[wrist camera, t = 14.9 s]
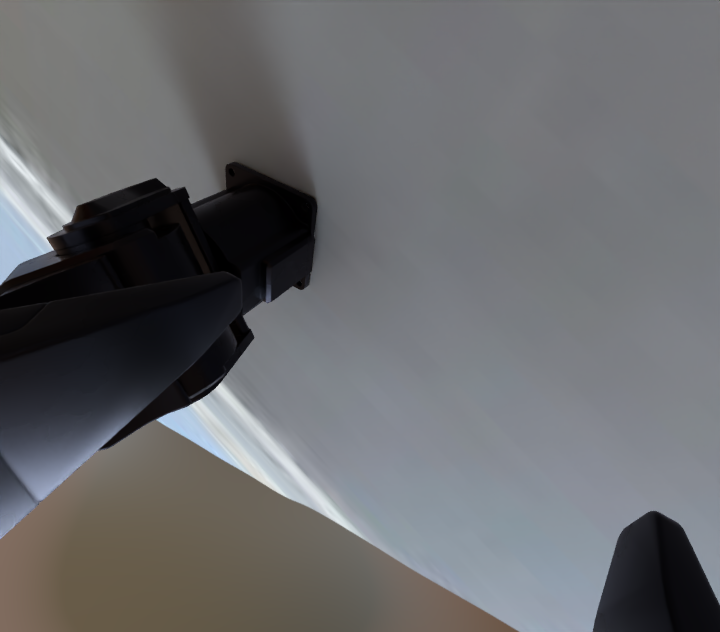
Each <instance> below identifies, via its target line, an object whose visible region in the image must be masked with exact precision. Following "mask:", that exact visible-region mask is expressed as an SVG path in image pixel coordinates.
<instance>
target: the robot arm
mask: <svg viewBox="0 0 720 632" xmlns="http://www.w3.org/2000/svg"><path fill="white" fill-rule="evenodd" d="M188 198H190V197H189V195H188V192H187V190H186V188H185V187H182V188H178V189H174V190H171V189H170V187H166V186H165V185H164V184H163V183H162V182H160V181H159V180H158V179H157V178H154V179H151V180H148V181H145V182H142V183H139V184H136V185H133V186H130V187H127V188H124V189H121V190H119V191H116V192H113V193H110V194H108V195H105V196H102V197H100V198H97V199H94V200H92V201H89V202H86V203H84V204H81V205H78V206H77V207H76V210H75V213H74V216H73V218H72V221H71V222H69V223H67V224H65V225H63V226H62V227H63V230H61V231H59V232H57V233H54V234H52V235H50V236H49V237H47V239H48V241H49V243H50V244H51V246H52V247H53V249H54V251H51V252H49V253H46V254H43V255H41V256H38V257H36V258H33V259H30V260H28V261H25V262H23V263H21V264H19V265H18V266H17V267H16V268H15V269H14V270H13V272H12V273H11V274H10V275H9V276H8V277H7V278H6V280H5V281H4V282H3V283H2V284H1V285H0V539H1V538H2V537H3V536H4V535H5V534H7V533H8V532H9V531H10V530H11V529H12V528H13V527H14V526H15V525H16V524H18V523H19V522H20V521H21V520H22V519H23V518H24V517H25V516H26V515H28V514H29V513H30V512H31V511H32V510H33V509H34V508H35V507H36V506H37V505H39V502H41V501H43V500H44V499H45V498H46V497H47V496H48V495H49V494H50V493H51V492H53V490H54V489H56V488H57V487H58V486H59V485H60V484H61V483H63V482H64V481H65V480H66V479H67V478H68V477H69V476H70V475H71V474H72V473H74V472H75V471H76V470H77V469H78V468H79V467H80V466H81V465H82V464H83V463H85V462H86V461H87V460H88V459H89V458H90V457H91V456H92V455H93V454H95V453H96V452H97V451H99V450H104V449H108V448H110V447H112V446H113V445H115V444H116V443H118V442H120V441H121V440H123V439H124V438H126V437H127V436H128V435H130V434H132V433H133V432H135V431H136V430H138V429H140V428H141V427H143V426H144V425H146V424H148V423H150V422H152V421H154V420H156V419H158V418H160V417H162V416H164V415H166V414H168V413H171V412H174V411H176V410H179V409H182V408H185V407H187V406H189V405H190V404H192V403H194V402H196V401H198V400H200V399H202V398H203V397H205V396H206V395H208V394H209V393H210V392H211V391H213V390H214V389H215V388H216V387H217V386H218V385H219V384H220V383H221V381H222V380H223V379H224V377H225V376H226V375H227V373H228V372H229V371H230V369H231V368H232V367H233V365H234V364H235V363H236V361H237V360H238V359H239V358H240V356H241V355H242V354H243V352H244V351H245V350H246V348H247V347H248V346H249V344H250V343H251V342H252V340H253V339H254V335H253V333H252V331H251V329H249V328H248V326H247V324H246V322H245V320H244V317H243V315H245V314H246V313H247V312H249V311H250V310H251V309H253V308H254V307H256V306H257V305H258V304H260V303H261V302H262V301H264V302H266V303H269V302H272V301H273V300H275V299H276V298H277V297H279V296H280V295H281V294H282V293H284V292H285V291H286V290H288V289H289V288H290V287H292V286H294V287H296V288H298V289H300V290H303V289H304V288H306V287H307V286H308V285H309V278H310V272H311V271H312V262H313V253H314V244H315V238H314V232H315V223H316V213H317V204H316V201H315V200H314V199H313V198H312V197H311V196H308V195H306V194H304V193H302V192H300V191H298V190H295V189H293V188H291V187H289V186H287V185H284V184H282V183H280V182H278V181H276V180H273V179H271V178H269V177H267V176H265V175H262V174H260V173H258V172H256V171H254V170H252V169H249V168H247V167H245V166H243V165H241V164H238V163H236V162H233V163H230V164H227V165H226V190H223V191H221V192H219V193H216V194H214V195H212V196H209V197H207V198H205V199H202V200H200V201H197V202H195V203H193V204H191V203H190V201H189V199H188ZM306 203H307V204H308V205H309V208H308V207H307V205H306ZM301 282H302V283H301ZM593 632H720V605H719V603H718V600H717V598H716V596H715V594H714V592H713V590H712V588H711V586H710V584H709V582H708V579H707V577H706V575H705V573H704V571H703V569H702V567H701V565H700V563H699V561H698V558H697V556H696V554H695V552H694V550H693V548H692V546H691V544H690V542H689V540H688V537H687V535H686V533H685V531H684V529H683V528H682V527H681V525H680V524H678V523H677V522H675V521H674V520H672V519H670V518H668V517H666V516H665V515H663V514H661V513H659V512H657V511H650V512H648V513H646V514H645V515H643V516H642V517H640V518H639V519H637V520H636V521H634V522H633V523H631V524H630V525H629V526H627V527H626V528H625V529H624V530H623V531H622V532H621V534H620V536H619V538H618V541H617V544H616V548H615V551H614V555H613V558H612V562H611V565H610V568H609V572H608V575H607V579H606V582H605V586H604V589H603V593H602V596H601V600H600V603H599V607H598V610H597V614H596V618H595V623H594V628H593Z"/></svg>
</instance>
